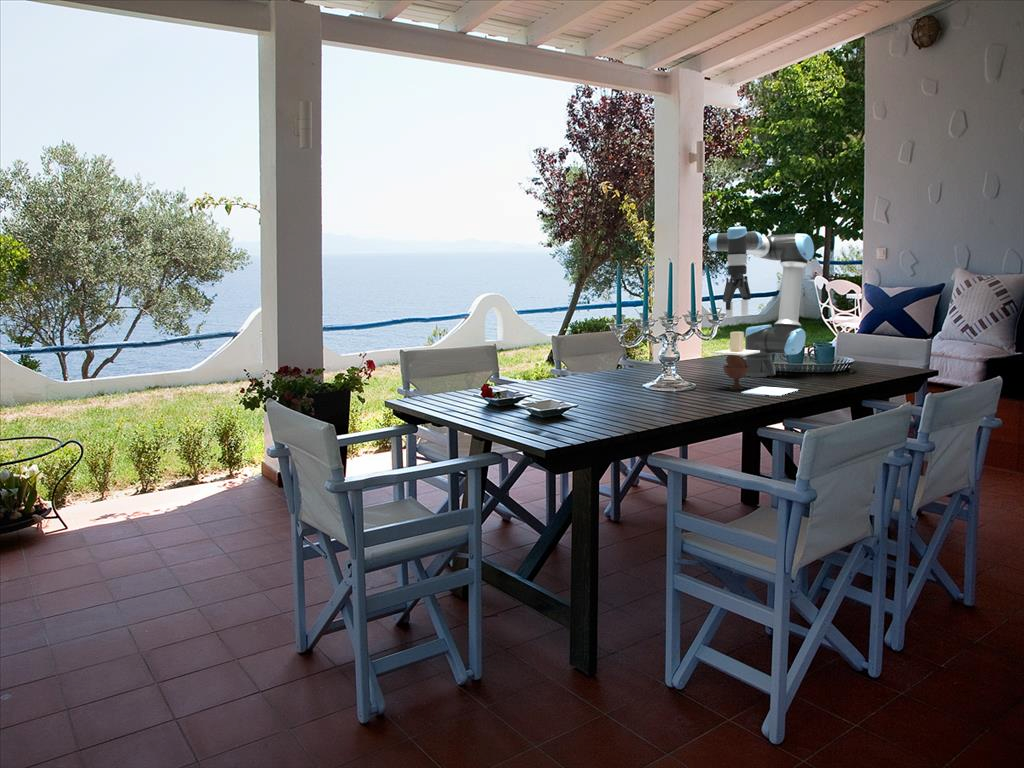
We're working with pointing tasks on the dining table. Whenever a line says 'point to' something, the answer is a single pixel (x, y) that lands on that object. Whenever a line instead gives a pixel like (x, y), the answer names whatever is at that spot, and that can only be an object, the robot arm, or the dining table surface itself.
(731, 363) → the ice cream bowl
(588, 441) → the dining table surface
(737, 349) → the lid
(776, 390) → the mat
